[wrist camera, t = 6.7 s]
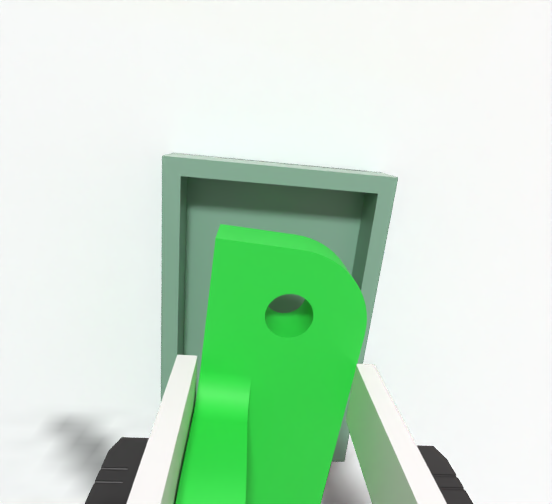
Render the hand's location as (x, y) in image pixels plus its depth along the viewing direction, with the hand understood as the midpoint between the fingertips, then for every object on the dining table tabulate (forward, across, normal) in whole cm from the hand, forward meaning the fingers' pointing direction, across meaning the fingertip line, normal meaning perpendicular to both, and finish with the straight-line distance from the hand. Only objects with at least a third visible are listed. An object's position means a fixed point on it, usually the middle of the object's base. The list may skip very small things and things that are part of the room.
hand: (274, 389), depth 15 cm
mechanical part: (+2, 0, 0) cm, 2 cm away
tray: (+7, 0, 0) cm, 7 cm away
